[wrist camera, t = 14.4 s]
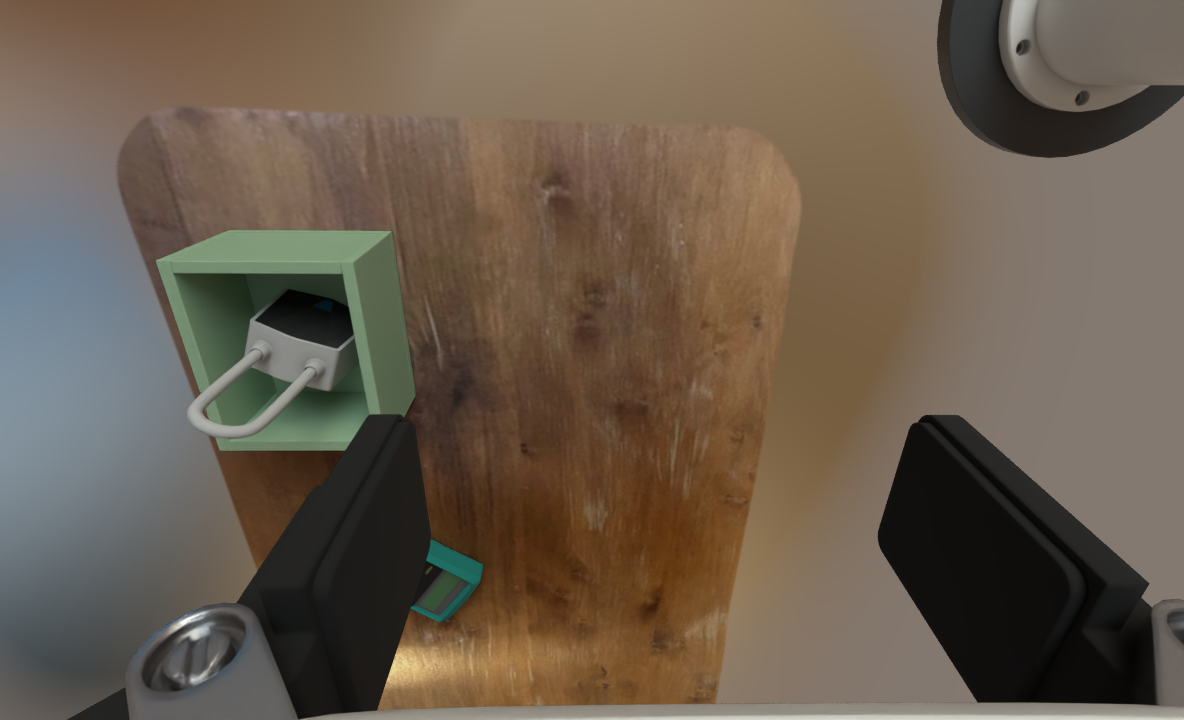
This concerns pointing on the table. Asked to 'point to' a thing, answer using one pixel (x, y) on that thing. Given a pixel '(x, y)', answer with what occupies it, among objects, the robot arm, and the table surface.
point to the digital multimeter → (445, 582)
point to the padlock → (287, 356)
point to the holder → (248, 283)
